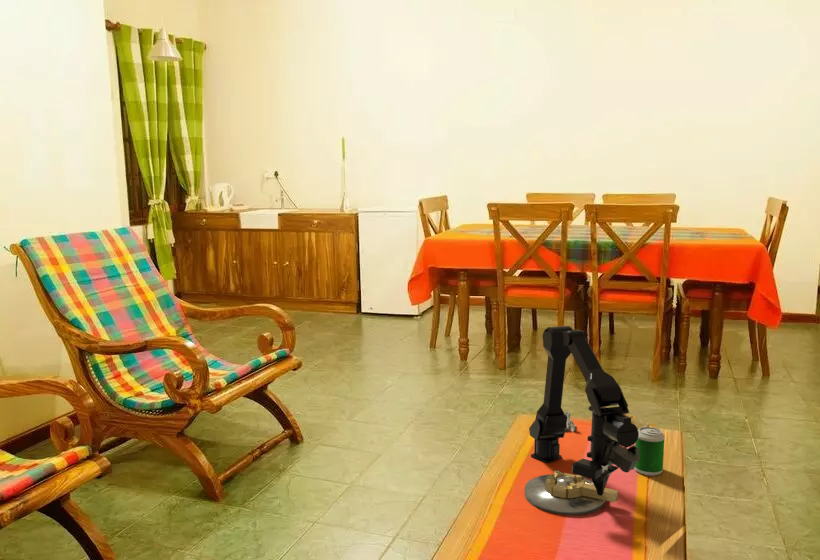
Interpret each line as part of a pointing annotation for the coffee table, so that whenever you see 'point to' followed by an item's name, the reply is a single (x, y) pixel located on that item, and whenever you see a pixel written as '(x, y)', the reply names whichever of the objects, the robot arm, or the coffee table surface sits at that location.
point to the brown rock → (637, 421)
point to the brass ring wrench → (576, 488)
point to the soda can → (650, 451)
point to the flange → (560, 498)
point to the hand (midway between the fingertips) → (600, 494)
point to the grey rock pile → (569, 422)
